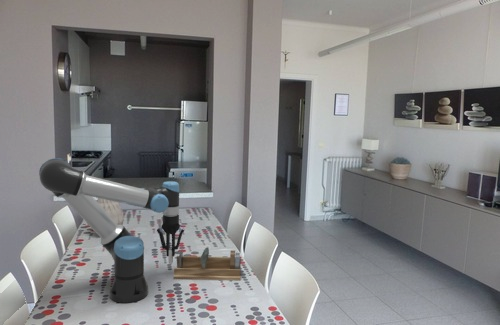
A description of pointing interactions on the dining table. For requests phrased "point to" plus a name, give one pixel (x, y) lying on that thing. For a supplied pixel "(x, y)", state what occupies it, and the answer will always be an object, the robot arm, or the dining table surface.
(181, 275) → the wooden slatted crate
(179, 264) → the bookend
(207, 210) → the dining table surface
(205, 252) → the stone
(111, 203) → the vase
